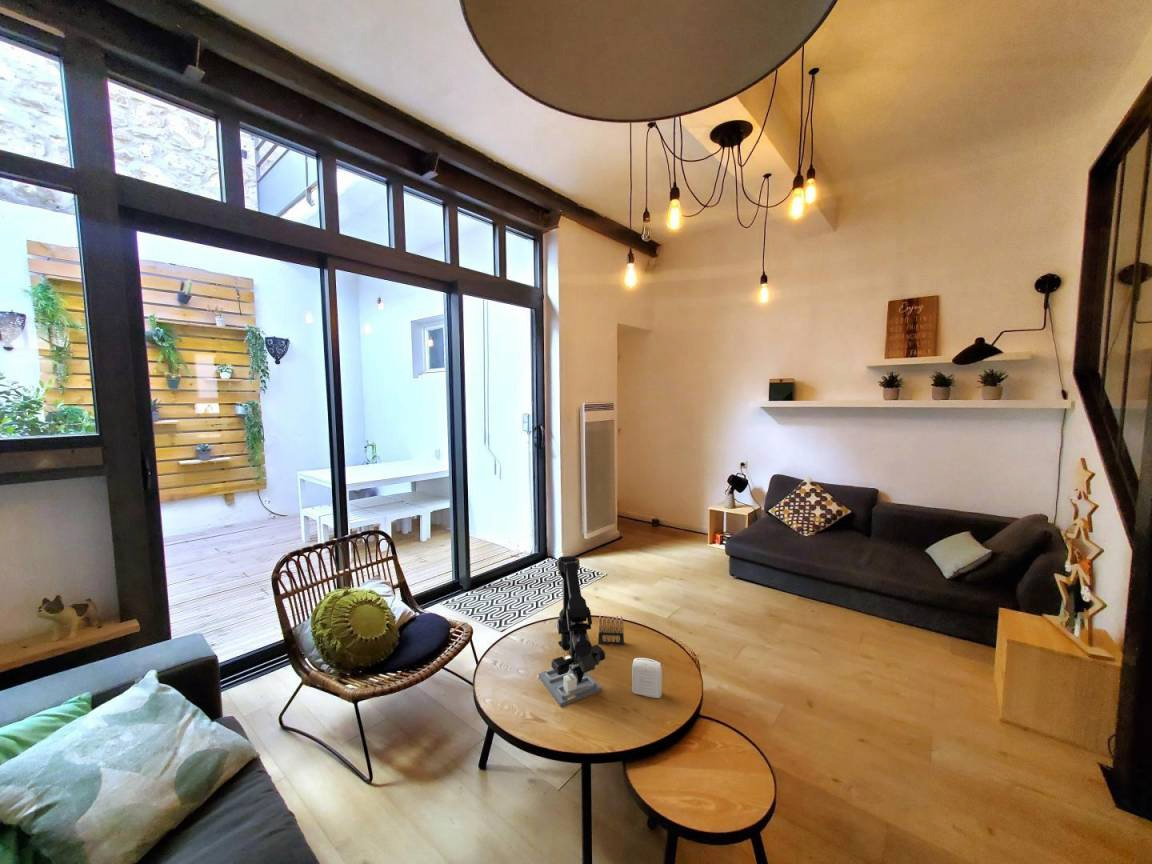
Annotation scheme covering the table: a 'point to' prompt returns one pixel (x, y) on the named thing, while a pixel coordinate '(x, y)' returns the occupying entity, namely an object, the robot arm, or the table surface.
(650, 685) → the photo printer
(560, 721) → the table surface
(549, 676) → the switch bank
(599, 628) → the ammunition clip
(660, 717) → the table surface
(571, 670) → the white rectangular block
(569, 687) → the white block
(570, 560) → the robot arm
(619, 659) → the table surface
